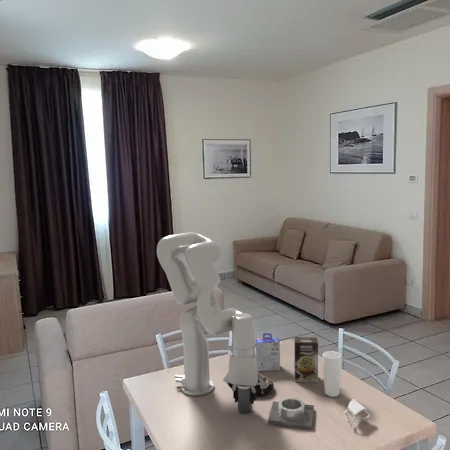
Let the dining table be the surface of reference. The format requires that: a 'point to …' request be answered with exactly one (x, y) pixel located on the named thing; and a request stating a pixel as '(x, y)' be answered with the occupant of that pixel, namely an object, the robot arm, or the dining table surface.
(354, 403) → the origami figure
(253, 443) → the dining table surface
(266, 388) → the donut
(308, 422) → the mount
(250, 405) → the lens
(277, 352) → the ink cartridge box
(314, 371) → the coffee box
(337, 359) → the drinking glass
